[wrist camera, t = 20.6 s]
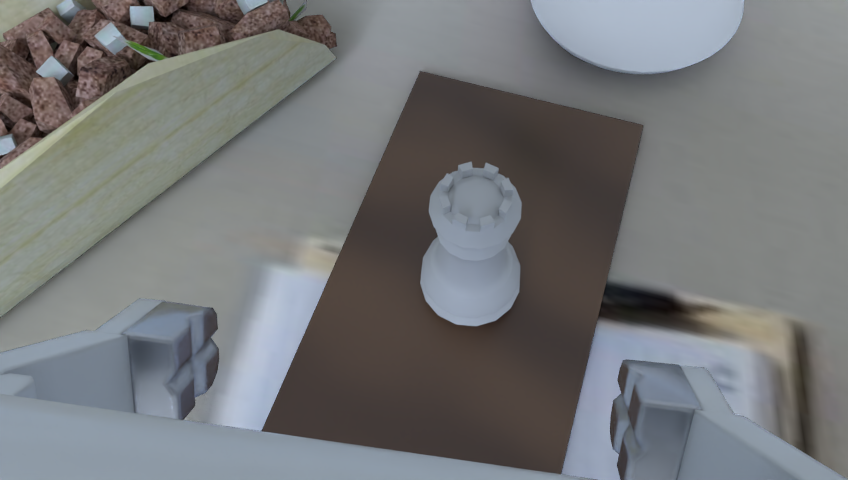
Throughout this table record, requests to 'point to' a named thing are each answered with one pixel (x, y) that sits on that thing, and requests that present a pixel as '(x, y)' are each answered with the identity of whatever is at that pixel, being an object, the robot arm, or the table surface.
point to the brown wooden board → (461, 344)
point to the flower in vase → (640, 31)
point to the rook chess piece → (472, 246)
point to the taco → (126, 110)
